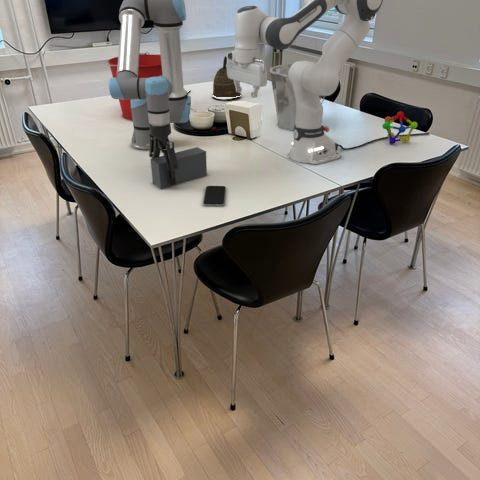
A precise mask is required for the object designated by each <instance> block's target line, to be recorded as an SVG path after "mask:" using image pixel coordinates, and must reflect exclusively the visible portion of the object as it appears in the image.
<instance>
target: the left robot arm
mask: <svg viewBox="0 0 480 480" xmlns="http://www.w3.org/2000/svg"><path fill="white" fill-rule="evenodd" d="M186 11H187V10H186V5H185V0H123V1H122V3H121V5H120V7H119V13H118V20H119V22H120V33H119V44H118V55H117V57H118V66H117V77H114V78H113V77H111V78H110V79H109V80H108V91H109V95H110V97H111V99H113V100H119V99H120V100H129V99H131V111H132V118H133V120H132V125H133V132H132V135H131V147H132V148H134V149H135V150H141V151H148V152H149V153H148V156H149V158H151V159H152V158H156V157H160V155H161V153H162V154H163V156H164V157H165V160H166V163H167V166H168V169H167V172H168V184H169V187H172V186H173V187H174V186H176V185H177V184H176V179H175V169H178V164H177V159H176V155H175V153H176V149H175V143H174V141H170V139H169V136H170V135H171V134H172V124H184V123H188V122H189V121H190V115H191V107H192V96H191V95H188V94H189V93H190V92H191V91H192V90H191V89H189V90H190V91H189V90H186V89H185V88H184V77H183V75H184V73H183V63H182V48H181V34H180V33H181V31H180V30H181V28H182V27H183V25H184V23H183V22H185V21H186V20H187V14H186ZM145 21H153V27H154V28H155V29H156V30H157V33H158V44H159V55H161V65H162V75H163V76H158V77H150V78H138V66H139V53H141V52H140V50H141V37H142V28H143V26H144V24H145ZM188 91H189V92H188ZM187 92H188V93H187Z"/></svg>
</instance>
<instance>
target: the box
mask: <svg viewBox="0 0 480 480" xmlns="http://www.w3.org/2000/svg"><path fill="white" fill-rule="evenodd" d="M175 155H176V159H177V164H178V169H175V179H176V185H179V184H183V183H186V182H189V181H192V180H196V179H199V178H203V177H206V176H207V175H208V166H207V165H208V163H207V151H206V150H205V149H202V148H200V147H198V146H196V147H192V148H188V149H184V150H181V151H175ZM149 159H150V160H149V161H150V170H151V178H152V184H153V185H154V186H155V187H157V188H159V189H160V190H162V189H166V188H169V187H170V186H169V184H168V172H167V169H168V166H167V163H166V160H165V157H164V155H161V156H160V155H159V157H156V158H152V157H151V158H149Z"/></svg>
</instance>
